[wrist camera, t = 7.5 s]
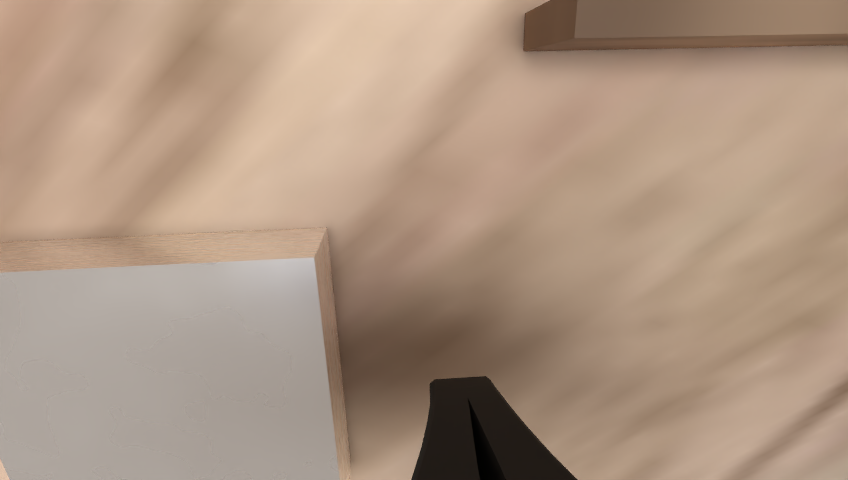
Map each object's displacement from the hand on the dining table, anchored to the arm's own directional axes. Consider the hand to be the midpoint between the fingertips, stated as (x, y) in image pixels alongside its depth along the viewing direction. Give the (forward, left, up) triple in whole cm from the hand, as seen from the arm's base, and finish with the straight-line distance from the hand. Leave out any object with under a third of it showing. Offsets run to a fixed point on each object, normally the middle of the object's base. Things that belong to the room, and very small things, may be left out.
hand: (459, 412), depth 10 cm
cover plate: (+7, 0, -3) cm, 8 cm away
